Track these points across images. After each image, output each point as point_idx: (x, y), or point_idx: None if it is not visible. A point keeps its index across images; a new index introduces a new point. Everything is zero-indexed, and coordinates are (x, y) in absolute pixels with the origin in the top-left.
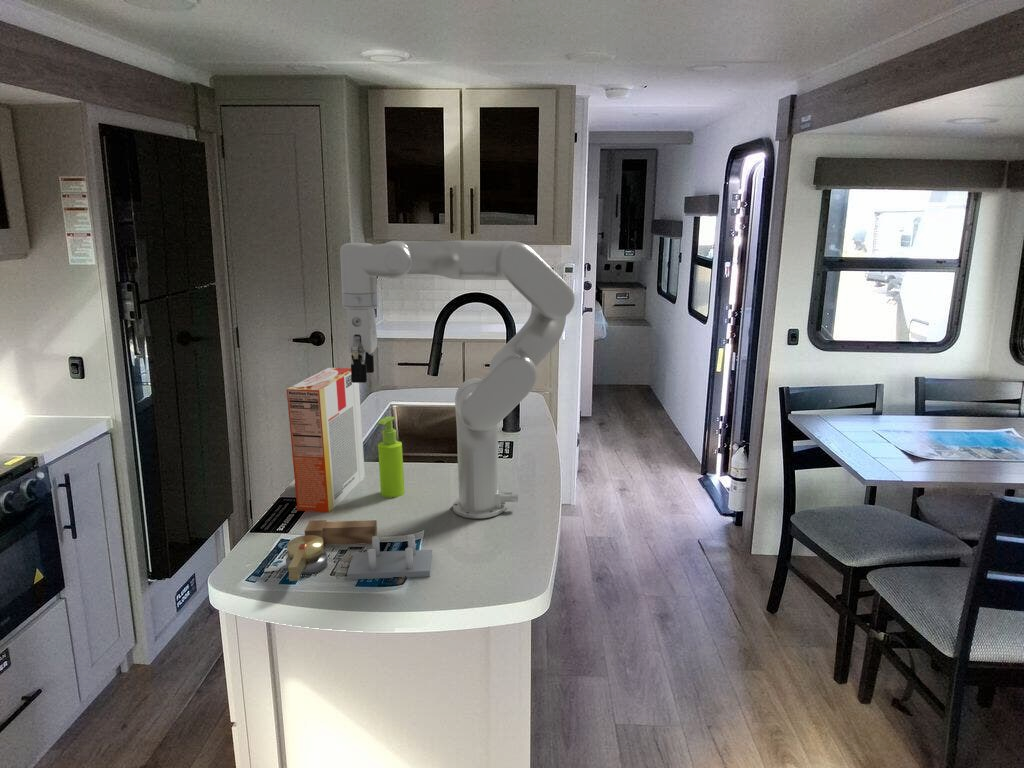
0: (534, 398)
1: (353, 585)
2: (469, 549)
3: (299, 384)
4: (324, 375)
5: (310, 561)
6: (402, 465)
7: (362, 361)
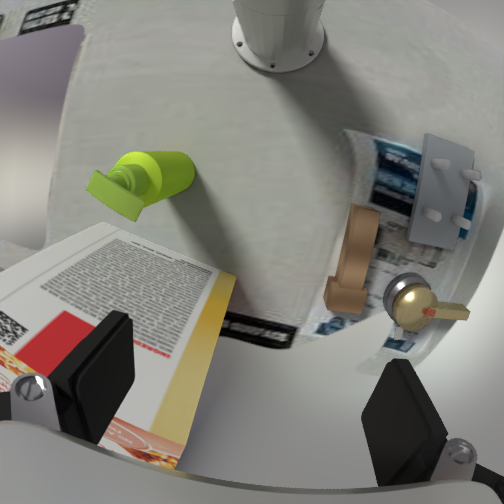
0: None
1: (463, 241)
2: (418, 82)
3: None
4: None
5: None
6: (162, 152)
7: (470, 462)
